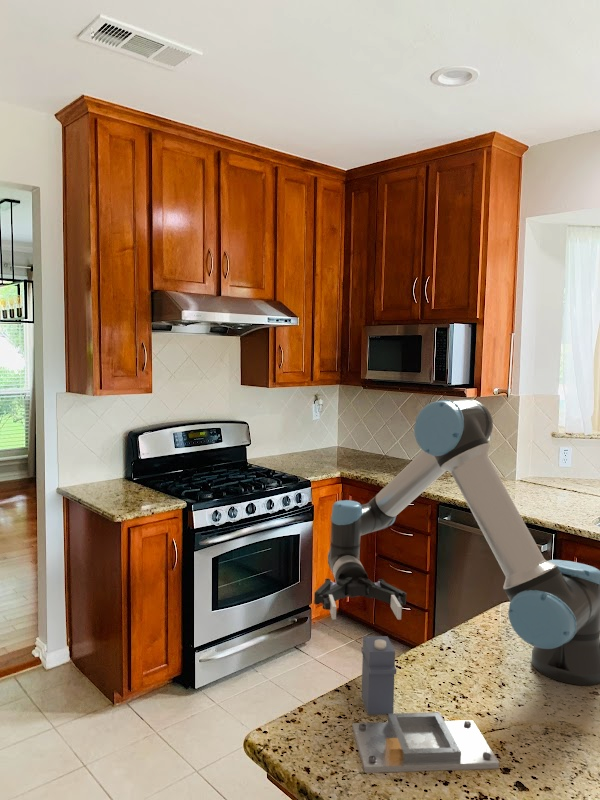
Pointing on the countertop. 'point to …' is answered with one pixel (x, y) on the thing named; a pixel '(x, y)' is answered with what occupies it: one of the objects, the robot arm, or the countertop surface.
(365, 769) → the chassis
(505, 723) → the countertop surface
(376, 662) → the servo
